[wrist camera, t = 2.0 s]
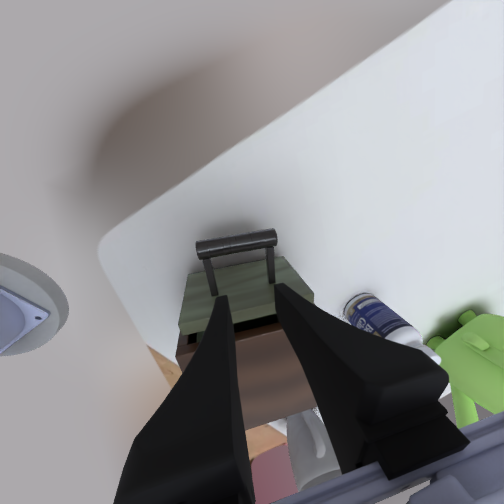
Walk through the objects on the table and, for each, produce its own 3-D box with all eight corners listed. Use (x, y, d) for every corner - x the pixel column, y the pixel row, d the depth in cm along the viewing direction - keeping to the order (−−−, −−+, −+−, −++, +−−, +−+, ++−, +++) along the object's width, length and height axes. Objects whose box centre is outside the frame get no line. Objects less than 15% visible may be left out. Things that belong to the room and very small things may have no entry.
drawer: (173, 229, 17) (153, 264, 11) (282, 212, 18) (318, 234, 12) (211, 352, 24) (212, 414, 18) (285, 333, 26) (308, 384, 20)
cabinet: (187, 286, 20) (174, 357, 13) (285, 266, 22) (326, 318, 14) (211, 362, 26) (212, 441, 19) (287, 342, 28) (316, 407, 20)
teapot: (381, 362, 37) (487, 482, 23) (475, 286, 32) (678, 377, 18) (425, 387, 47) (516, 481, 33) (500, 332, 43) (643, 413, 29)
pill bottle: (340, 302, 27) (402, 367, 18) (373, 286, 27) (450, 343, 18) (345, 325, 29) (403, 391, 21) (375, 310, 29) (445, 370, 21)
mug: (315, 416, 41) (344, 482, 32) (278, 428, 39) (297, 500, 31) (320, 384, 36) (356, 453, 27) (277, 397, 34) (300, 474, 26)
